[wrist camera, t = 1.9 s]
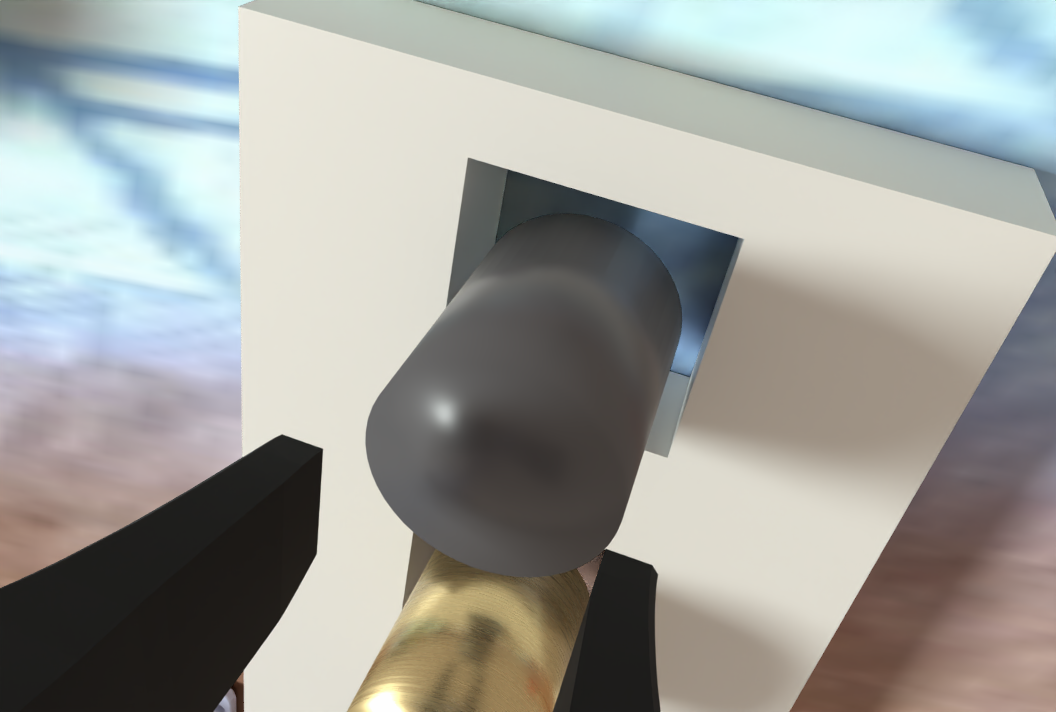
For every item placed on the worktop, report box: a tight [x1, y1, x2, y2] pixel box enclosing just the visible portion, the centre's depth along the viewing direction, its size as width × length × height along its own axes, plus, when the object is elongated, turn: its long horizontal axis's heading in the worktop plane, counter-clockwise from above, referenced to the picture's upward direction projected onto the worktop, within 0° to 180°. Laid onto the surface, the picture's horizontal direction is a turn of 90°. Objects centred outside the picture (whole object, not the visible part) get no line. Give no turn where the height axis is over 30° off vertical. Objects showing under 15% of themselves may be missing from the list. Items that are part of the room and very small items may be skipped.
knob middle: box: [347, 549, 589, 712], centre depth 20 cm, size 4×4×5 cm
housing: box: [238, 0, 1056, 712], centre depth 23 cm, size 24×14×3 cm, turn 169°
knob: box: [365, 214, 682, 577], centre depth 15 cm, size 4×4×5 cm
